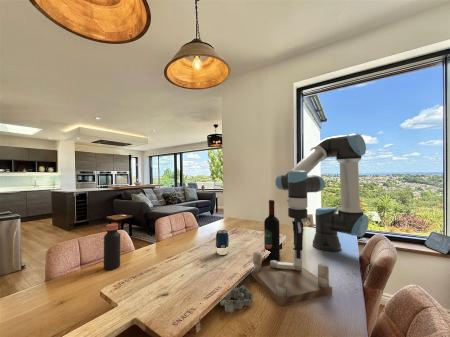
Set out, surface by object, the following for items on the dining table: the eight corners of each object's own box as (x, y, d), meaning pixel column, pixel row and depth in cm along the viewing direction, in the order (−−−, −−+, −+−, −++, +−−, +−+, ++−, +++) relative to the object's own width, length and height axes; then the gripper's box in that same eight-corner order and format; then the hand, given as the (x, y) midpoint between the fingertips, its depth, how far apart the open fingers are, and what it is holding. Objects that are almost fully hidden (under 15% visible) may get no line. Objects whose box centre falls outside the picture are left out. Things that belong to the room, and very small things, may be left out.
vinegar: (100, 270, 92) (100, 226, 93) (109, 264, 99) (109, 222, 100) (115, 270, 92) (115, 226, 93) (123, 264, 99) (123, 222, 99)
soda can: (215, 251, 115) (215, 229, 115) (227, 250, 115) (227, 229, 116) (216, 256, 108) (216, 233, 108) (229, 255, 108) (229, 233, 109)
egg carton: (226, 315, 64) (226, 302, 64) (217, 301, 71) (217, 289, 71) (255, 306, 68) (255, 293, 68) (244, 294, 75) (244, 282, 75)
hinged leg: (270, 267, 88) (269, 251, 88) (270, 264, 92) (269, 248, 92) (302, 270, 85) (302, 254, 86) (301, 266, 89) (301, 250, 89)
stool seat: (294, 266, 96) (294, 246, 96) (333, 293, 75) (333, 267, 75) (250, 273, 89) (250, 252, 89) (279, 306, 68) (279, 277, 68)
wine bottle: (280, 263, 100) (279, 201, 100) (264, 261, 101) (264, 201, 102) (279, 256, 107) (278, 199, 108) (264, 255, 109) (264, 199, 109)
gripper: (287, 205, 92) (287, 258, 91) (289, 210, 79) (289, 271, 79) (304, 205, 90) (305, 259, 89) (310, 210, 78) (310, 273, 77)
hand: (298, 265), depth 84 cm, fingers closed
